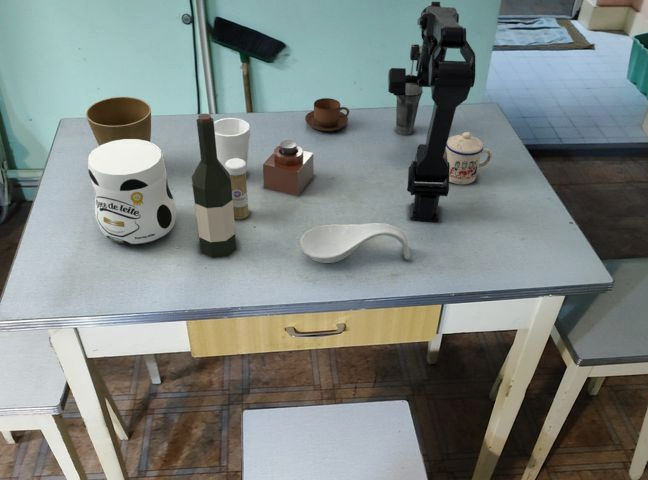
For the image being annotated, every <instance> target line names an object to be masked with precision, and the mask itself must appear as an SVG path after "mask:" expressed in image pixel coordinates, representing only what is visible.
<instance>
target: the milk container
mask: <svg viewBox="0 0 648 480" xmlns="http://www.w3.org/2000/svg"><path fill="white" fill-rule="evenodd" d="M165 165H166V164H165V159H164V155H163V152H162V150H161V148H160V147H158V145H157V144H155V143H153V142H151V141H150V142H149V141H144V140H139V139H122V140H116V141H111V142H108V143H105V144H102V145H100V146H99V145H98V146H96V147H95V148H94V149H92V151H91V152H90V153H89V154H88V157H87V169H88V174H89V179H90V182H91V186H92V189H93V193H94V199H95V201H94V217H95V220H96V223H97V226H98V227H99V229H100V232H101V233H102V234H103V235H104V236H105V237H106V238H107V239H109V240H111V241H113V242H114V243H119V244H123V245H128V246H131V245H133V246H134V245H137V246H138V245H140V246H141V245H144V244H150V243H153V242H155V241H157V240H160V239H162V238H163V237H166V235H168V234H169V233H170V232H171V231H172V230H173V228H174V226H175V223H176V220H177V206H176V201H175V198H174V196H173V194H172V192H171V190H170V187H169V182H168V174H167V169H166V166H165Z"/></svg>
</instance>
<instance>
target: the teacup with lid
mask: <svg viewBox="0 0 648 480" xmlns="http://www.w3.org/2000/svg"><path fill="white" fill-rule="evenodd" d="M446 152H447V160H448V162H449V165H450V169H449V183H451V184H455V185H468V184H472V183H473V182H475V180H476V179H477V176H478V171H479V169H481V168H484V167H486V166H488V164H489V163H490V162H491V161H492V158H493V153H492V151H491V150H490V149H489V148H484V144H483V142H482V140H480V139H479V138H477V137H476V136H473V135H472V134H471V132H469V131H464V132H463V133H462V134H455V135H452V136H449V137H448V141H447V145H446ZM484 153H485V154H487V158H486V159H485V161H483V162H481V163H480V161H481V157H482V154H484Z"/></svg>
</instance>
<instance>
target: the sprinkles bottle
mask: <svg viewBox="0 0 648 480" xmlns="http://www.w3.org/2000/svg"><path fill="white" fill-rule="evenodd" d="M225 168H226V170H227V171H228V173H229V174H230V179H231V187H232V199H233V211H234V220H244V219H247V218H248V217H249V215H250V211H249V197H248V196H249V195H248V183H247V172H246V162H245V161H244V160H242V159H238V158H234V159H230V160H228V161H227V162H226V163H225Z"/></svg>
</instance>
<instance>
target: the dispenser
mask: <svg viewBox="0 0 648 480" xmlns="http://www.w3.org/2000/svg"><path fill="white" fill-rule="evenodd" d="M262 170H263V172H262V173H263V174H262V175H263V188H264V189H266V190H271V191H276V192H280V193H283V194H288V195H292V196H296V197H298V196H299V195H300V194H301V192H302V191H303V190H304V189H305V187H306V186H307V185H308V184H309V182H310V181H311V180H312V179H313V178H314V152H312V151H311V152H310V151H305V150H304V149H303V148H302V147H301V146H299V145H297V153H296V154H295V155H292V156H285V155H282V154H281V153H280V145H277V146H276V147H275V148H274V149H273V153H272V154H271V155H270V156H269V157H268V158H267V160H265V162H264V163H263V164H262Z"/></svg>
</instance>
